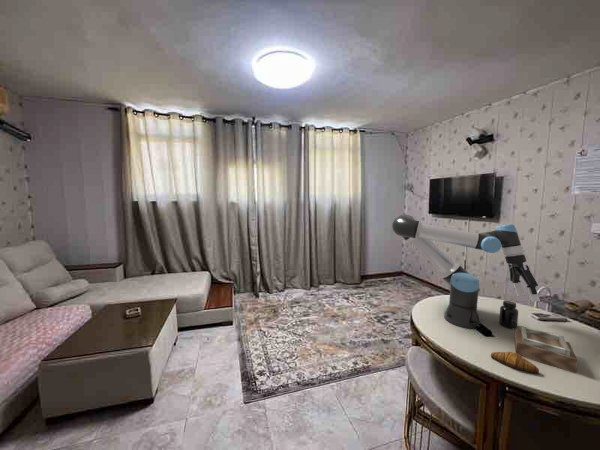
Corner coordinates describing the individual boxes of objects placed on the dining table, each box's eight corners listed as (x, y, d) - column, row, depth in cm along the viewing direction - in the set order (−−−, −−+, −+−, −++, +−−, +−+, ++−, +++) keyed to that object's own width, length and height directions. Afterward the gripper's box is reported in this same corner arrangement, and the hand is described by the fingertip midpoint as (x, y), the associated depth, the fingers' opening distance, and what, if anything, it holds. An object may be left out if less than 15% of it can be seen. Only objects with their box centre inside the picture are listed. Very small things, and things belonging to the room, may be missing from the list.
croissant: (538, 369, 88) (539, 356, 87) (539, 379, 83) (541, 366, 82) (491, 353, 97) (492, 341, 96) (489, 361, 92) (490, 349, 91)
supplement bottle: (515, 324, 119) (517, 301, 118) (518, 331, 113) (521, 306, 112) (497, 321, 122) (499, 298, 121) (499, 326, 117) (502, 303, 115)
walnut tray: (515, 354, 96) (517, 337, 95) (514, 338, 106) (515, 323, 106) (575, 372, 86) (578, 354, 85) (567, 353, 96) (569, 337, 96)
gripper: (537, 254, 107) (554, 303, 103) (511, 253, 130) (524, 293, 126) (517, 257, 109) (532, 304, 106) (495, 255, 132) (507, 294, 129)
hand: (528, 298), depth 116 cm, fingers open, 13 cm apart
